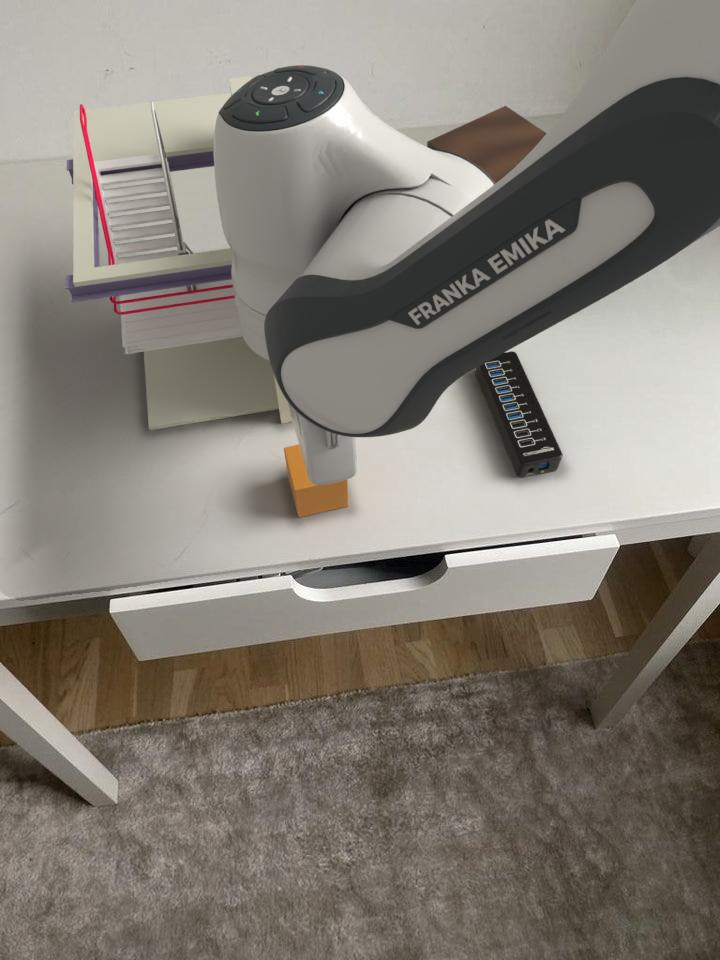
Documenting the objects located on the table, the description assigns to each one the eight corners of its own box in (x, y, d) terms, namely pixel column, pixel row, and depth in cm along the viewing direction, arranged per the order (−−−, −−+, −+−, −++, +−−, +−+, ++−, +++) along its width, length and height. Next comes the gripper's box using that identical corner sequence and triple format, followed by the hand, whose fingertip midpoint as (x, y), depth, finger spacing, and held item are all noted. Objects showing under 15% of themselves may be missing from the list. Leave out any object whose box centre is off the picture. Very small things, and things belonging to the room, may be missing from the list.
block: (336, 465, 77) (334, 436, 73) (348, 506, 74) (347, 478, 70) (287, 476, 76) (283, 447, 72) (298, 518, 74) (294, 490, 70)
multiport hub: (511, 364, 84) (515, 350, 82) (559, 470, 77) (564, 457, 75) (473, 371, 84) (476, 356, 82) (517, 478, 76) (521, 465, 74)
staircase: (121, 269, 93) (30, 8, 68) (269, 248, 95) (234, -14, 70) (129, 449, 78) (18, 200, 53) (304, 419, 80) (277, 166, 55)
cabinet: (573, 223, 97) (590, 162, 90) (498, 264, 93) (510, 203, 86) (495, 167, 104) (505, 105, 96) (422, 203, 100) (427, 141, 92)
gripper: (380, 406, 50) (375, 514, 61) (310, 210, 60) (318, 333, 72) (285, 426, 49) (299, 531, 60) (231, 223, 59) (252, 346, 71)
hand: (308, 422), depth 66 cm, fingers open, 8 cm apart
